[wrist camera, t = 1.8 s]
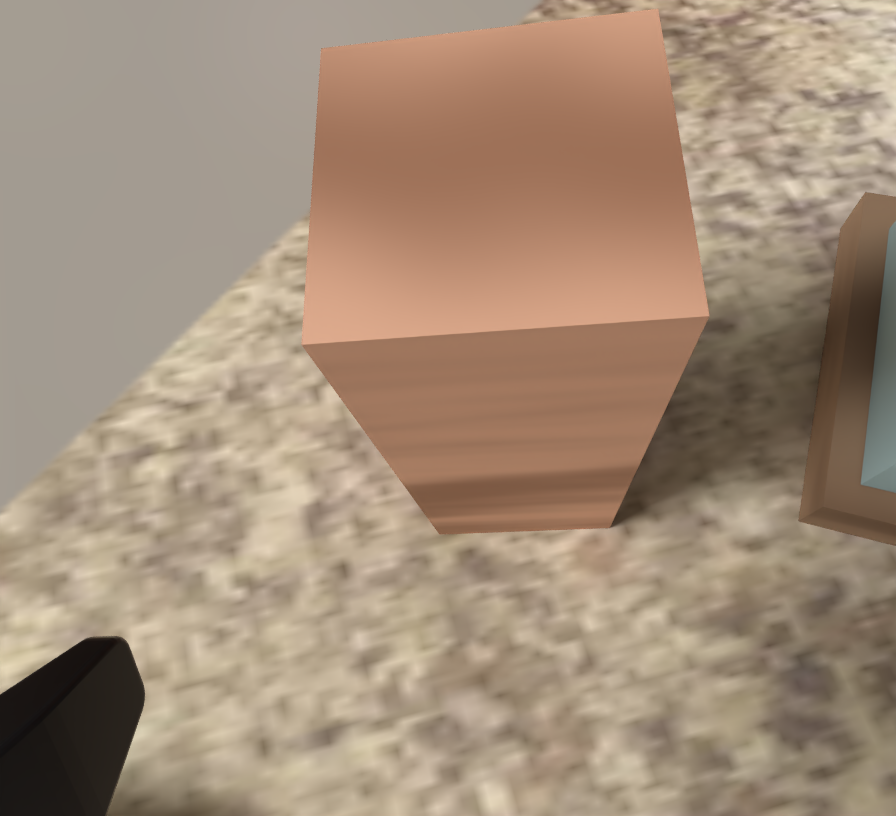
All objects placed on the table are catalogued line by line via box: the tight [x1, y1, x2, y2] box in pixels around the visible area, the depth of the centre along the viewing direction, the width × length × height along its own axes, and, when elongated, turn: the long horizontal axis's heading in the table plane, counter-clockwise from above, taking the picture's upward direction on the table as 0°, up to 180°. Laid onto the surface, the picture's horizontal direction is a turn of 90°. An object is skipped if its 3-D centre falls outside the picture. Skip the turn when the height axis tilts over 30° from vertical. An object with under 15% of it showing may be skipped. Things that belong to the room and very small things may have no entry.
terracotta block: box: [302, 9, 709, 534], centre depth 16 cm, size 5×5×13 cm
